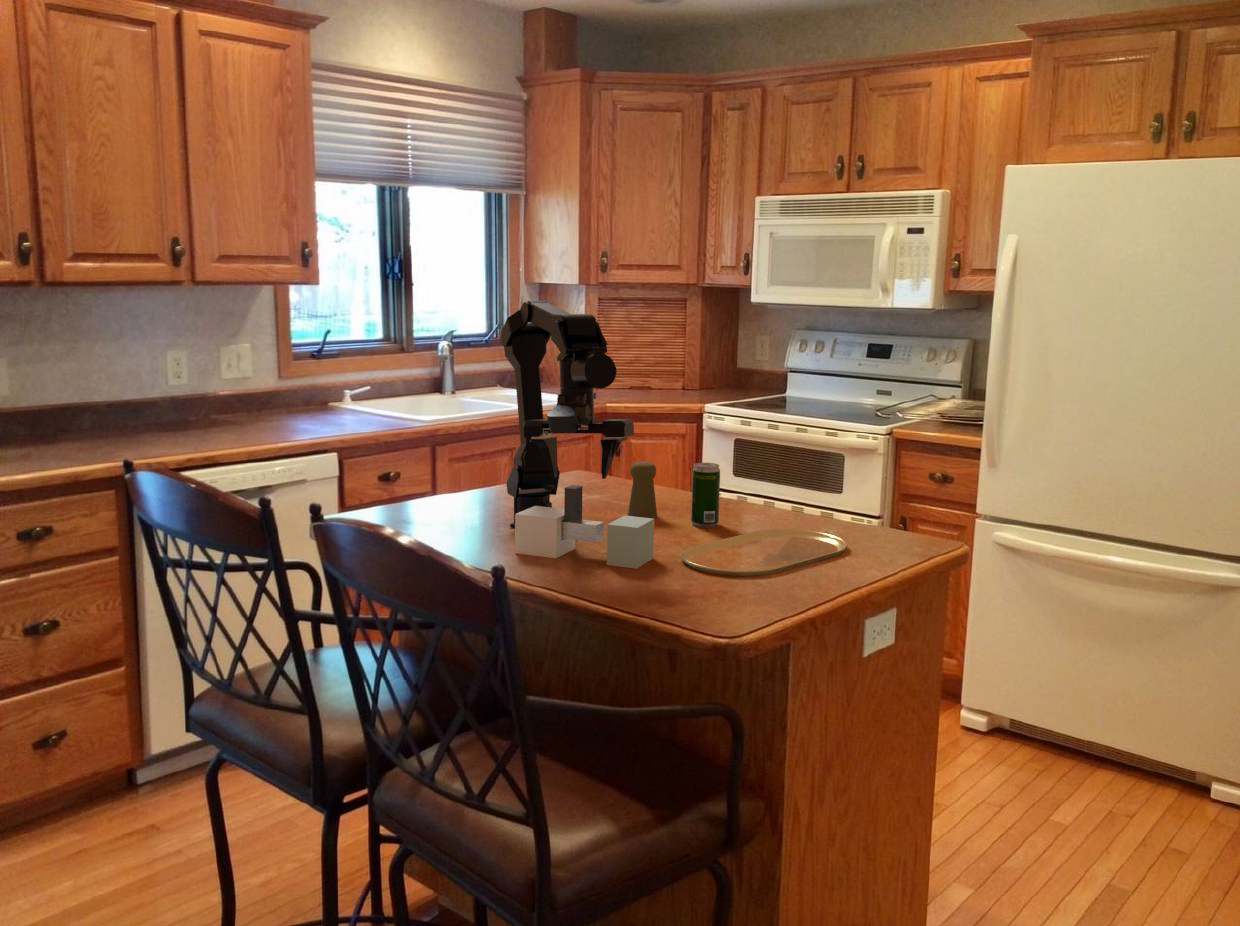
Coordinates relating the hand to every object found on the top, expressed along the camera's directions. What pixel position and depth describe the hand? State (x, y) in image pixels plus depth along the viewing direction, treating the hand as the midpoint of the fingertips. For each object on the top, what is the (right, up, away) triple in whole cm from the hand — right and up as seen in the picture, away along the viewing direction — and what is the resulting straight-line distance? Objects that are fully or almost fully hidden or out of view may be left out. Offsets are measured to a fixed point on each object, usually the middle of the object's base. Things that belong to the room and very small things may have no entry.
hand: (579, 478), depth 187 cm
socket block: (+9, -14, -2) cm, 17 cm away
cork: (+12, -8, +33) cm, 36 cm away
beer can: (+24, -10, +26) cm, 37 cm away
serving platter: (+33, -14, +4) cm, 36 cm away
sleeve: (-6, -13, +4) cm, 15 cm away
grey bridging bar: (-3, -10, +3) cm, 11 cm away
